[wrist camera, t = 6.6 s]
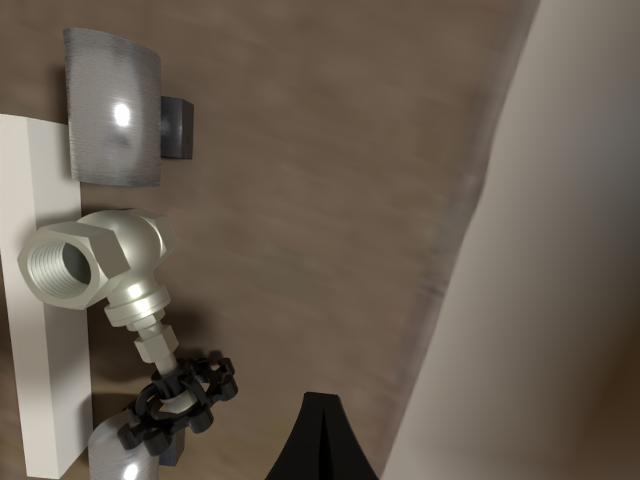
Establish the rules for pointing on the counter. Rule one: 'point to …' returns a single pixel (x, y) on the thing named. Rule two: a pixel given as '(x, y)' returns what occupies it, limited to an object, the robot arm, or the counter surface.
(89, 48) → the pipe stubs
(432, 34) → the counter surface
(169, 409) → the valve
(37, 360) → the bar
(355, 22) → the counter surface
